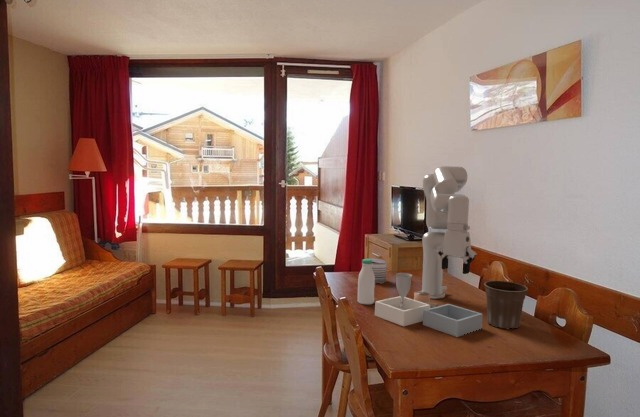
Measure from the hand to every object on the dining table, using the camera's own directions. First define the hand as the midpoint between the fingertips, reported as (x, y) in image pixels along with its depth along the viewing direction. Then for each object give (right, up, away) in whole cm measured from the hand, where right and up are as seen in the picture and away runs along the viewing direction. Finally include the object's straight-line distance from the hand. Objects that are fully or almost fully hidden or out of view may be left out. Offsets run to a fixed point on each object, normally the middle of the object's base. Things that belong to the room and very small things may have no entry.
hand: (455, 271), depth 176 cm
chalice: (-19, -21, +12) cm, 31 cm away
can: (-22, -16, +73) cm, 78 cm away
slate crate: (-1, -22, +2) cm, 22 cm away
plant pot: (+21, -23, +6) cm, 32 cm away
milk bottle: (-32, -19, +32) cm, 49 cm away
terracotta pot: (-8, -20, +24) cm, 32 cm away
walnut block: (-6, -21, +15) cm, 27 cm away
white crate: (-19, -21, +12) cm, 30 cm away
